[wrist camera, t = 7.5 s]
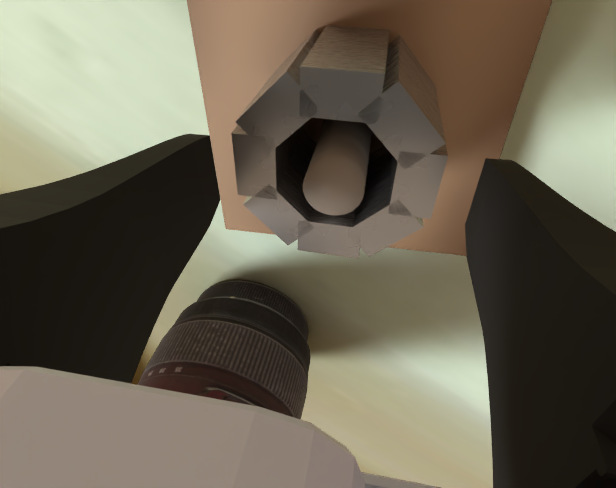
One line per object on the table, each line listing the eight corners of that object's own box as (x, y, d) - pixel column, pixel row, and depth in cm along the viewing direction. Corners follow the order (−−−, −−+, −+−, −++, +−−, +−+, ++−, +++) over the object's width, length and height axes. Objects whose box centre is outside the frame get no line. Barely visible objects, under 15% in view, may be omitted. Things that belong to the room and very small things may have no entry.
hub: (451, 33, 11) (469, 80, 8) (414, 192, 15) (417, 266, 12) (269, 20, 12) (223, 60, 9) (274, 175, 15) (242, 242, 12)
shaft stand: (554, -63, 11) (651, -45, 6) (462, 232, 17) (481, 337, 13) (197, -66, 12) (89, -52, 8) (236, 209, 18) (188, 296, 14)
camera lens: (162, 272, 22) (-97, 643, 11) (301, 265, 20) (157, 729, 9) (214, 361, 27) (72, 687, 16) (332, 364, 25) (266, 750, 13)
